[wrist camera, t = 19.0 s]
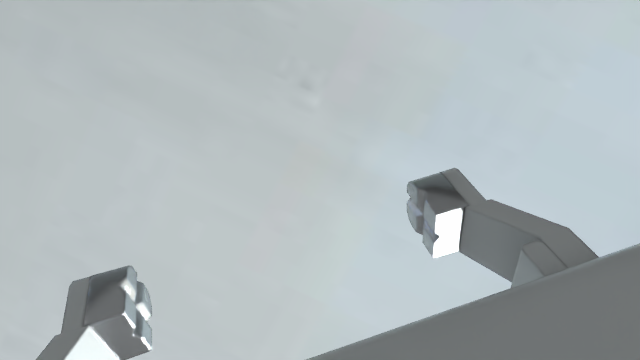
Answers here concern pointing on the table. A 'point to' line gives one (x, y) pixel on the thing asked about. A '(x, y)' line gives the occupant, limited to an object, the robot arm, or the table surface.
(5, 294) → the table surface
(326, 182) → the table surface
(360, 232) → the table surface
